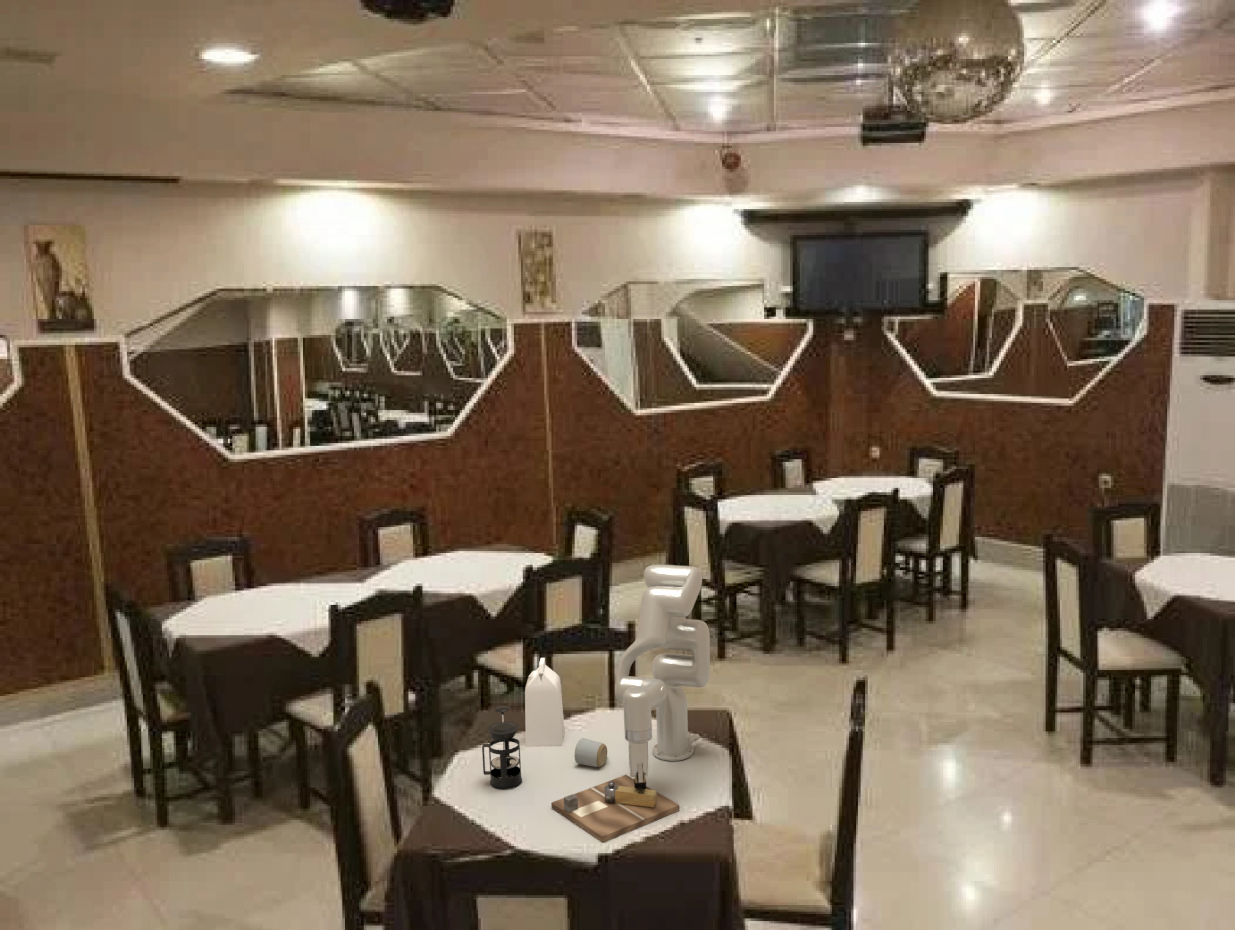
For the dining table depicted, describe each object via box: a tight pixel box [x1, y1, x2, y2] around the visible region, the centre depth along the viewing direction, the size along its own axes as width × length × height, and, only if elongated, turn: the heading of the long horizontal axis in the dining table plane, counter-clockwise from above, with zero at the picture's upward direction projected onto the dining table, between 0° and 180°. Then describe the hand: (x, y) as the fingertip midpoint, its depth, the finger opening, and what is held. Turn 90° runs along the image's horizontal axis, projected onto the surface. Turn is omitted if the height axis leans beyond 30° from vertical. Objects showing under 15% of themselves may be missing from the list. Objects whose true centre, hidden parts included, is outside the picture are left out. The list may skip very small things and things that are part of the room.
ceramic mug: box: [574, 737, 608, 768], centre depth 309 cm, size 11×8×8 cm
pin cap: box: [607, 780, 615, 788], centre depth 281 cm, size 2×2×1 cm
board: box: [550, 774, 680, 843], centre depth 280 cm, size 26×24×5 cm
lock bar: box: [604, 785, 657, 808], centre depth 280 cm, size 14×4×4 cm, turn 72°
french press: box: [481, 705, 523, 791], centre depth 296 cm, size 12×9×23 cm
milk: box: [524, 657, 566, 748], centre depth 326 cm, size 12×12×26 cm
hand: (640, 794), depth 283 cm, fingers closed
